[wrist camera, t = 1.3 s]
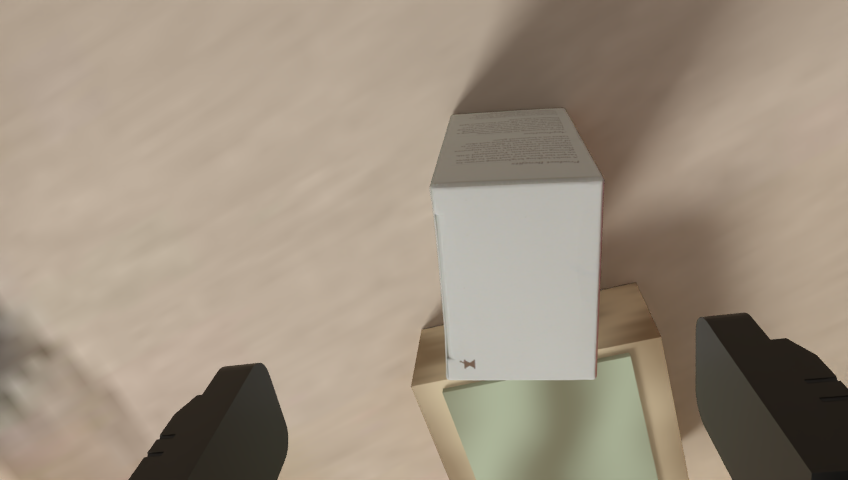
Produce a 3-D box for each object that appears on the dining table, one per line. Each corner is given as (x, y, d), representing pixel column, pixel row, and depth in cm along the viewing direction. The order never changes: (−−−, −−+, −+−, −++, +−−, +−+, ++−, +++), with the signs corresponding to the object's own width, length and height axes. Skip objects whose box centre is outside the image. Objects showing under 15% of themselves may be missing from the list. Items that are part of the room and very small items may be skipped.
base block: (636, 282, 31) (662, 340, 26) (670, 449, 35) (698, 525, 30) (421, 329, 33) (410, 390, 28) (479, 479, 38) (477, 553, 33)
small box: (564, 256, 30) (599, 387, 21) (458, 259, 31) (445, 387, 22) (567, 103, 27) (610, 176, 18) (448, 110, 28) (427, 185, 18)
